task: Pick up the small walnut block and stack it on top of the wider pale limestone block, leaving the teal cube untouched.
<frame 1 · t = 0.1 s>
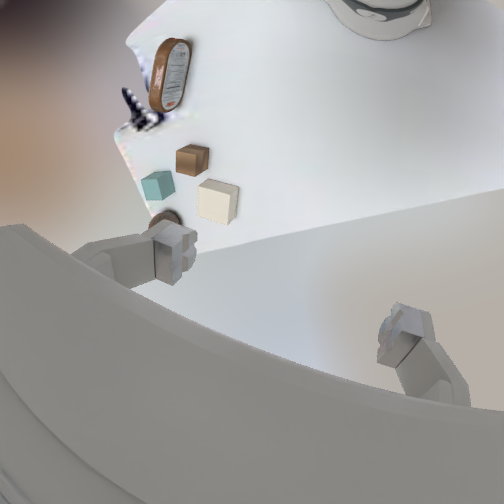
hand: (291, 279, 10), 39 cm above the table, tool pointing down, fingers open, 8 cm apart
tin: (183, 74, 44), on the table
teal cube: (164, 181, 60), on the table
walnut block: (199, 156, 53), on the table
limestone block: (221, 197, 57), on the table
vase: (173, 219, 66), on the table
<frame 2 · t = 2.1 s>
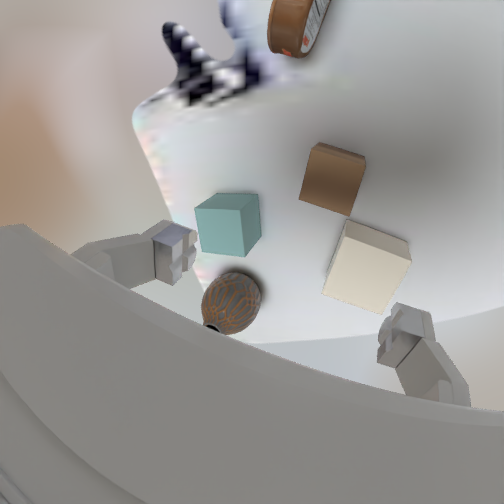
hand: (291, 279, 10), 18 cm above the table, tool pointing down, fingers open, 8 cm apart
tin: (319, 2, 17), on the table
teal cube: (239, 214, 31), on the table
walnut block: (336, 170, 25), on the table
limestone block: (365, 258, 28), on the table
vase: (243, 285, 37), on the table
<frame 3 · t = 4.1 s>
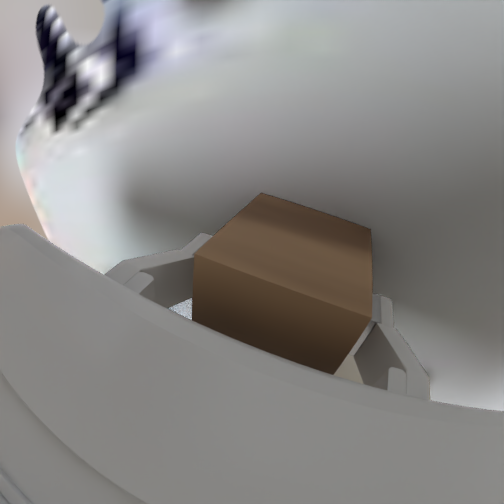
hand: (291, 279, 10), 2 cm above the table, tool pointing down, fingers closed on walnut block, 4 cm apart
walnut block: (301, 258, 11), on the table, touching gripper
limestone block: (352, 393, 15), on the table
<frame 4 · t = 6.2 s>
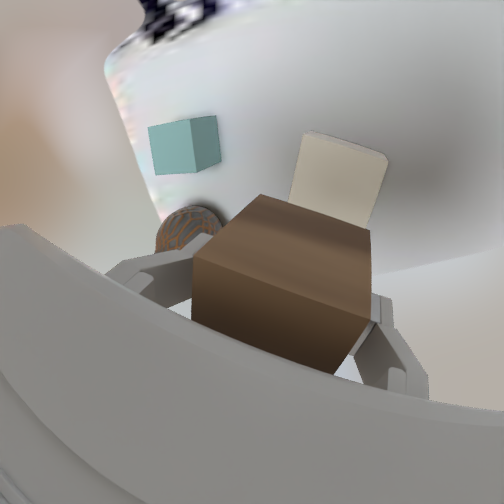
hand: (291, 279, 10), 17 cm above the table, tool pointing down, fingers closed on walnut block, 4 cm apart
teal cube: (198, 140, 28), on the table
walnut block: (300, 259, 12), point 16 cm above the table, touching gripper
limestone block: (338, 176, 24), on the table
vase: (206, 225, 33), on the table
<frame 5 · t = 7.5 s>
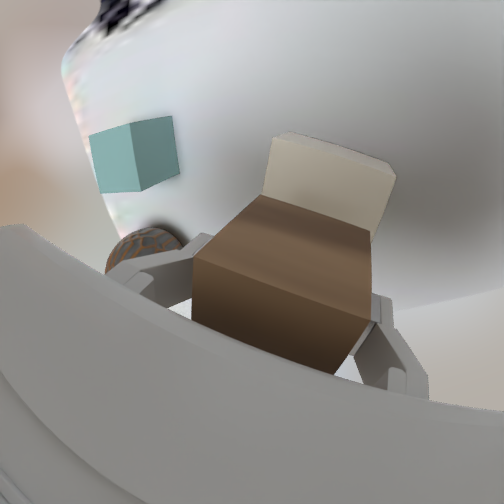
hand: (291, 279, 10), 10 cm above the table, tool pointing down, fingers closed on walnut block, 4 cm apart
teal cube: (153, 147, 22), on the table
walnut block: (300, 259, 12), point 9 cm above the table, touching gripper
limestone block: (326, 192, 18), on the table
vase: (169, 248, 27), on the table
when the fingers open (7 cm above the table, at t = 8.5 s): walnut block drops 1 cm, resting on limestone block.
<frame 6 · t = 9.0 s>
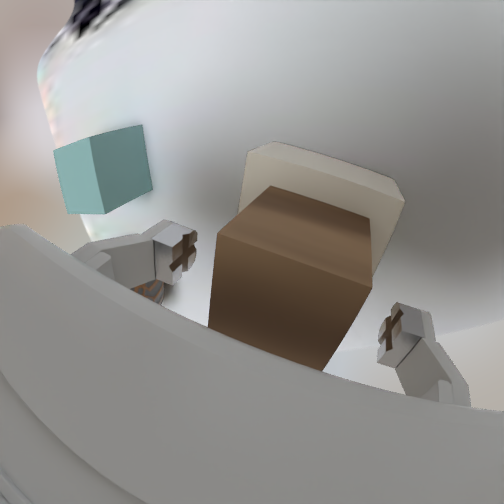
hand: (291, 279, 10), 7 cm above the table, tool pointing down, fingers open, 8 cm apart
teal cube: (125, 160, 19), on the table
walnut block: (306, 245, 13), point 4 cm above the table, touching limestone block
limestone block: (318, 214, 16), on the table
vase: (147, 269, 24), on the table
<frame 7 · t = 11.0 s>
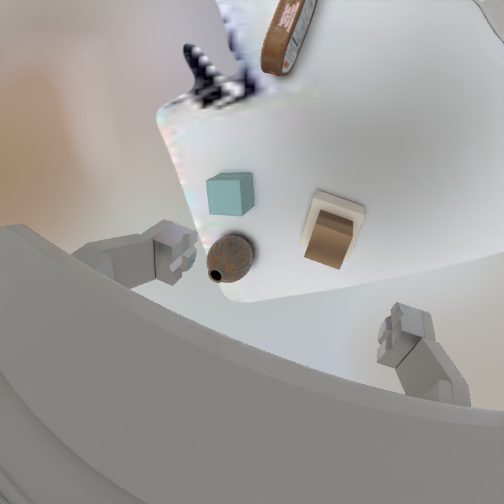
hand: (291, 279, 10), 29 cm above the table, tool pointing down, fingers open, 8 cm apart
tin: (298, 34, 28), on the table
teal cube: (237, 188, 41), on the table
walnut block: (331, 230, 35), point 4 cm above the table, touching limestone block
limestone block: (333, 220, 38), on the table
vase: (239, 248, 46), on the table
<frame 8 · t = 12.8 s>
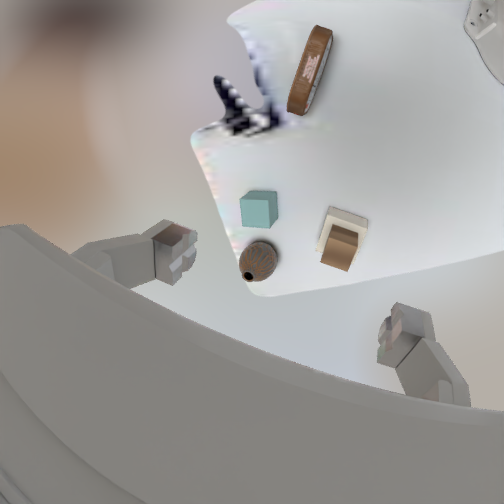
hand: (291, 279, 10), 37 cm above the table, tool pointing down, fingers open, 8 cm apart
tin: (315, 74, 36), on the table
teal cube: (264, 204, 50), on the table
walnut block: (341, 240, 44), point 4 cm above the table, touching limestone block
limestone block: (342, 230, 47), on the table
vase: (264, 252, 55), on the table
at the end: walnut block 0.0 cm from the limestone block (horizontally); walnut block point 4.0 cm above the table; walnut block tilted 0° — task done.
